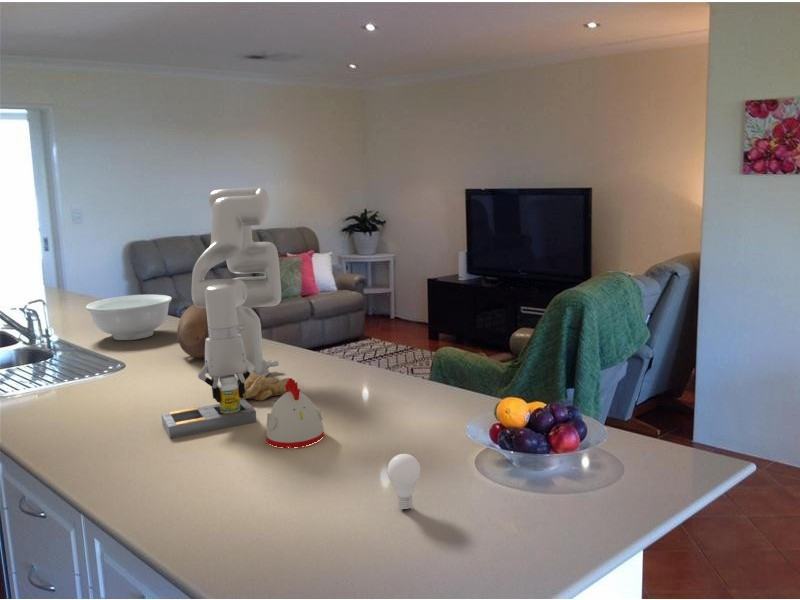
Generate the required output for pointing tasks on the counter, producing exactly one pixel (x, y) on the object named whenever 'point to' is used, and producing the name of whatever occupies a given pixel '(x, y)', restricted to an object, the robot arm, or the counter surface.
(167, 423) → the cinder block
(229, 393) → the supplement bottle
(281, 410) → the kitchen timer
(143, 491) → the counter surface
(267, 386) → the ginger root
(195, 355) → the brown round lump
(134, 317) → the bowl
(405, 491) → the lightbulb
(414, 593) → the counter surface
